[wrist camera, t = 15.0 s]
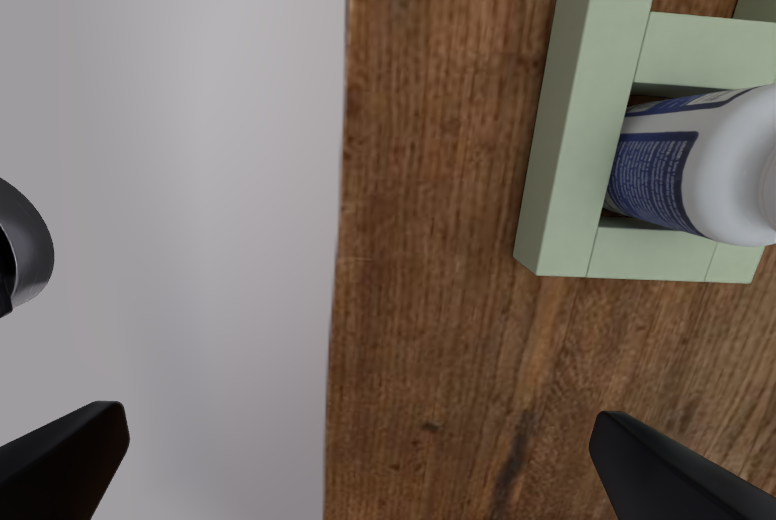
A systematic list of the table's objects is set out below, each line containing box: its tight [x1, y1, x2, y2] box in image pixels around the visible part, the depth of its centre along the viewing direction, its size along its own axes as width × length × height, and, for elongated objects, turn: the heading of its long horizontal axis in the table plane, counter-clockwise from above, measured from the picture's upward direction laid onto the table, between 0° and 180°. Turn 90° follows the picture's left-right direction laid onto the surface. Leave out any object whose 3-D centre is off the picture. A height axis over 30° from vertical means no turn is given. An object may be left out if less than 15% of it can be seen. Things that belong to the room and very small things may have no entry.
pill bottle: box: [603, 83, 776, 247], centre depth 14 cm, size 5×5×10 cm
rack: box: [513, 0, 776, 283], centre depth 16 cm, size 11×20×3 cm, turn 177°
